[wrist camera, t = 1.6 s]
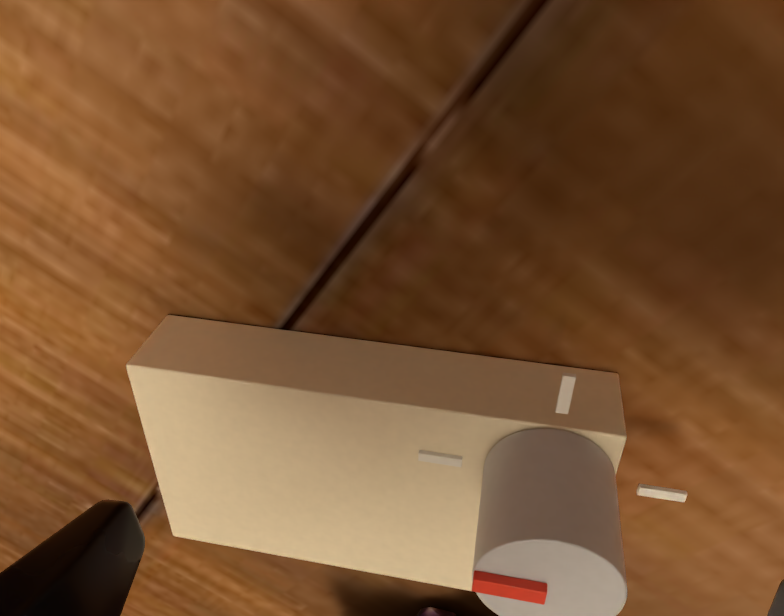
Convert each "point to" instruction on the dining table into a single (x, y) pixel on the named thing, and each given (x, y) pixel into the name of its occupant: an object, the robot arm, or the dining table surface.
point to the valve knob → (549, 528)
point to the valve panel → (347, 441)
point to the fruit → (434, 612)
